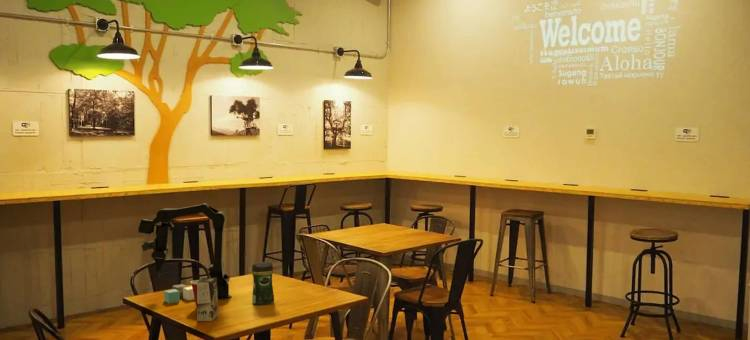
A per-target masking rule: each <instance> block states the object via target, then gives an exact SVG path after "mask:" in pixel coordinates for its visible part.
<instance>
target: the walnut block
mask: <svg viewBox="0 0 750 340" xmlns="http://www.w3.org/2000/svg"><path fill="white" fill-rule="evenodd" d="M185 287H188V285H186V284H183V283H181V284H175V285H172V289H176V290H178V291H179V293H180V298H183V288H185Z"/></svg>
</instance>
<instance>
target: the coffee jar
mask: <svg viewBox="0 0 750 340" xmlns="http://www.w3.org/2000/svg"><path fill="white" fill-rule="evenodd" d="M273 274H274V267H273V263H272V262H271V261H260V262H259V261H258V262H253V263H252V265H251V275H252V278H253V279H252V280H253V281H252V282H253V283H252V285H253V286H252V300H251V301H252V304H253V305H256V306H265V305H270V304H273V303H274V302H275V293H274V287H273Z"/></svg>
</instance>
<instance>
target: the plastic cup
mask: <svg viewBox="0 0 750 340" xmlns="http://www.w3.org/2000/svg"><path fill="white" fill-rule="evenodd" d="M199 280H200V279H195V280H191V281H190V284H191V286H192V289H193V293H194V299H193V300H194V302H195V307H196V309H197V282H198V281H199Z"/></svg>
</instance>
